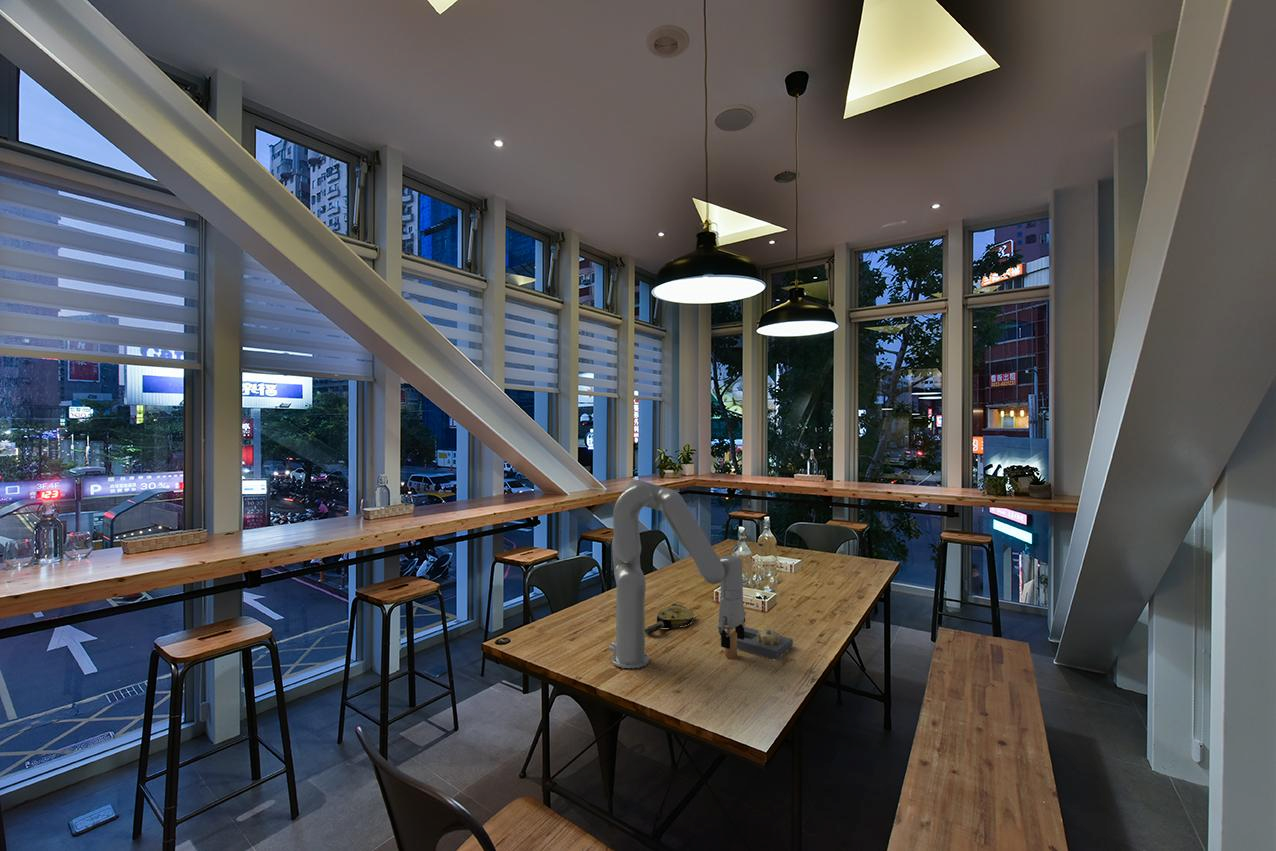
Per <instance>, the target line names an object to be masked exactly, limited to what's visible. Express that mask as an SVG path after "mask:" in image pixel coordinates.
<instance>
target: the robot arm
mask: <svg viewBox="0 0 1276 851" xmlns="http://www.w3.org/2000/svg"><path fill="white" fill-rule="evenodd" d="M644 507H645V508H649V509H653V510H656V511H660V512H661V513H662V515H663V516H664V518H665V520H666V521H667V523H668V525H669V526H670V528H671V530H672V532H673V533H674V535H675V537H676V539H677V540H678V541H679V543H680V544H681V545H682V547H683V548H684V549H685V551H686V552H687V553H688V554H689V555H690V557H691V558H692V560H693V561H694V563H695V565H696V567H695V568H696V571H697V572H698V574H699V575H700V576H701V577H702V578H703V579H704V580H705V581H706V582H707V583H709V584H710V585H718V584H719V585H720V599H719V609H718V625H717V629H718V633H719V635H720V647H721V648H724V649H725V648H727V649H729V648H730V636H729V634H730V631H733V629H734V631H735V632H736V633H737V638H738V639H742V640H743V639H744V628H743V627H746V626H745V621H746V615H747V612H746V611H745V609H744V608H745V607H744V605H745V604H744V591H743V590H744V589H743V588H744V583H743V582H744V581H743V560H742V558H741V557H740V556H738V555H732V554H731V555H729V554H728V555H724V556H721V555H720V556H719V555H718V554H717V553H716V551H715V549H714V548H713V546H712V545H711V543H710V541H709V540H708V538H707V537H706V535H705V533H704V532H703V530H702V528H701V527H700V525H699V524H698V522H697V520H696V518H695V516H694V515H693V513H692V512H691V510H690V508H689V507H688V505H687V503H686V501H685V500H684V498H683V496H682V495H681V493H679V492H677V491H676V490H674V489H671V488H668V487H665V486H664V487H663V486H661V485H657V484H654V483H650V482H647V481H644V480H642V479H641V480H640V479H634V480H633V479H632V480H631V481H629V482H628V483H627V484H626V486H625V487H624V491H623V492H622V493H621V495H620V496H619V497H618V498H617V500H616V502H615V504H614V507H613V510H612V511H613V513H612V522H613V537H612V540H611V549H612V550H611V551H612V552H611V553H612V562H613V564H612V565H613V574H614V579H615V583H616V598H615V599H616V600H615V601H616V602H615V610H616V611H615V616H616V618H615V622H616V623H615V624H616V626H615V627H616V628H615V629H616V633H615V634H616V635H615V638H616V639H615V640H616V641H611V643H610V645H609V646H608V650H609V651H611V652H612V651H613V655H611V656H612V657H611V664H613V666H615V665H616V666H615V667H617V666H618V667H617V668H619V667H621V668H620V669H624V668H629V669H628V670H631V669H630V668H633V669H632V670H635V669H634V668H637V669H640V667H641V668H643V666H644V667H647V665H648V664H649V663H650V656H649V655H648V654H647V653H646V652H645V649H646V646H645V645H646V643H645V642H646V641H645V640H646V638H645V637H646V636H645V635H646V633H645V629H646V624H645V623H646V622H645V621H646V618H645V616H646V615H645V614H646V613H645V612H646V611H645V610H646V607H645V606H646V589H647V584H646V583H647V582H646V577H645V574H644V572H643V570H642V569H641V557H640V556H641V552H642V544H641V536H640V525H639V516H640V512H641V510H643V508H644Z"/></svg>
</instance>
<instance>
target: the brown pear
mask: <svg viewBox="0 0 1276 851" xmlns="http://www.w3.org/2000/svg"><path fill="white" fill-rule="evenodd" d="M734 631H735V630H730V634H729V636H730V648H729V649H727V648H724V651H725V653H724V657H725V658H726V657H727V658H726V659H728V658H730V659H729V660H736V659H737V658H738V649H737V633H736V632H734ZM735 658H736V659H735Z"/></svg>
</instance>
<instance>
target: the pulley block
mask: <svg viewBox="0 0 1276 851" xmlns="http://www.w3.org/2000/svg"><path fill="white" fill-rule="evenodd" d="M694 615H695V613H694V611H693V610H692V609H689V608H687V607H685V606H683V605H680V604H677V603H676V604H675V603H673V604H671V605H668V606H667V605H666V606H664V607H662V608H660V610H659V612H658V614H657V617H656V623H655V624H652V625H651V626H647V627H645V634H647V635H650V634H652V633H654V632H658V631H659V630H661V629H660V628H674V629H676V628H675V627H680V626H685V625H688V624H690V623H691V622H692V620H693V621H694V619H697V618H698V617H700V616H701V614H700V615H697V616H695V617H694Z"/></svg>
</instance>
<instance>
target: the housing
mask: <svg viewBox="0 0 1276 851" xmlns="http://www.w3.org/2000/svg"><path fill="white" fill-rule="evenodd" d="M743 628H744V639H743V640H742V639H738V638H737V650H738V649H740V651H742V650H743V651H742V652H745V651H746V652H745V653H749V652H750V653H749V654H752V653H753V655H756V654H757V655H756V656H759V655H761V656H760V657H763V656H764V657H763V658H766V657H768V658H767V659H770V658H772V659H771V660H773V659H775V660H774V661H776V659H777V658H778V659H780V658H781V657H782V656H783V655H785V654H786V653H787V652H788V651H787V650H789V649H790V648H791V647H792V646H794V645H793V644H794V642H793V641H794V640H793V638H790V637H786V636H783V635H780V633H779V632H776V631H775V630H773V629H772V630H770V629H763V630H758V629H755V628H751V627H747V626H745V627H743ZM733 631H734V632H735V630H733ZM791 649H792V648H791ZM791 649H790V650H791ZM790 650H789V651H790ZM786 651H787V652H786ZM785 652H786V653H785ZM784 653H785V654H784ZM782 654H783V655H782ZM781 655H782V656H781ZM780 656H781V657H780ZM778 659H777V660H778Z"/></svg>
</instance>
